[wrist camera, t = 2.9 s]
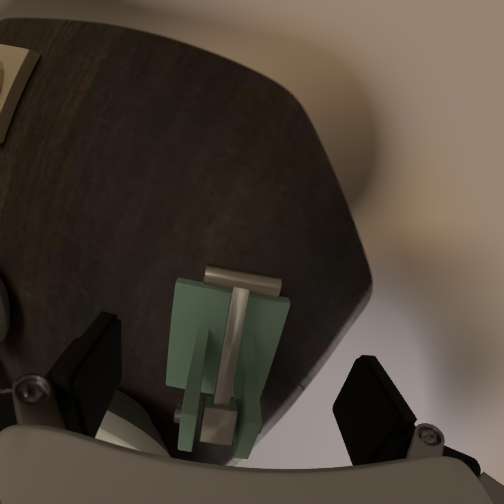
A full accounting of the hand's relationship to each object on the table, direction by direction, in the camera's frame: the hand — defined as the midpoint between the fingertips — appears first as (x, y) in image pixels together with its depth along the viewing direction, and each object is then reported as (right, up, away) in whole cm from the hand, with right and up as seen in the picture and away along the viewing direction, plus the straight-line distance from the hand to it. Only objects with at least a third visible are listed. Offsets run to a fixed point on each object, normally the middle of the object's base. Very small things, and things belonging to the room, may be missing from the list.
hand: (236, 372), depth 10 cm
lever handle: (-1, -3, +9) cm, 10 cm away
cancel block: (-28, +22, +8) cm, 36 cm away
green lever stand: (-2, -4, +17) cm, 18 cm away
